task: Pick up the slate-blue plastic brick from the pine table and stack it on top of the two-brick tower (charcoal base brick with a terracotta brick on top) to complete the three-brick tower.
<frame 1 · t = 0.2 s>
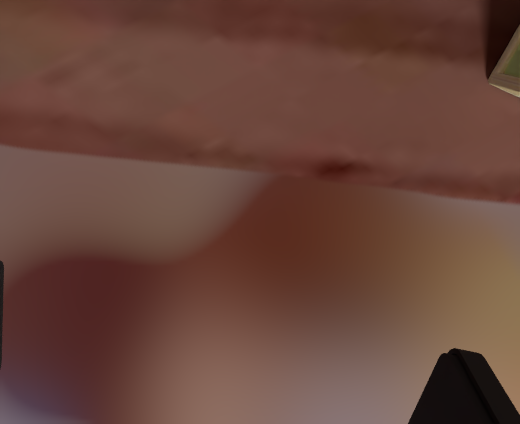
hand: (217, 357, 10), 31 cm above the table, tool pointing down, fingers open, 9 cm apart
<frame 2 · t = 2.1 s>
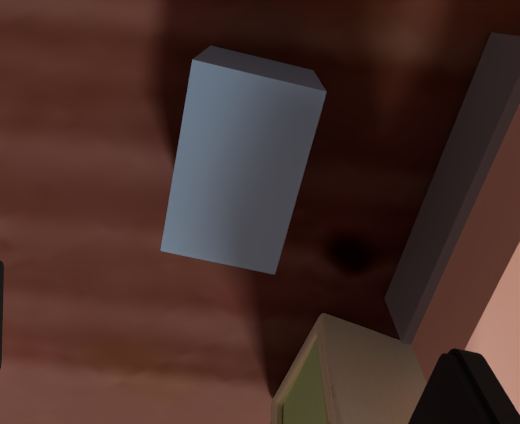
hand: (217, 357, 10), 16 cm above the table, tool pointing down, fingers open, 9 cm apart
slate brick: (244, 137, 24), on the table
toy refrigerator: (335, 368, 30), on the table
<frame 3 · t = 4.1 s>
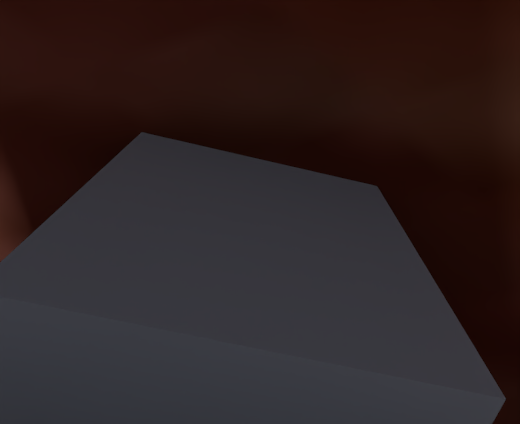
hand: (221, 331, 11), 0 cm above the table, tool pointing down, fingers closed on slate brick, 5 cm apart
slate brick: (223, 316, 11), on the table, touching gripper
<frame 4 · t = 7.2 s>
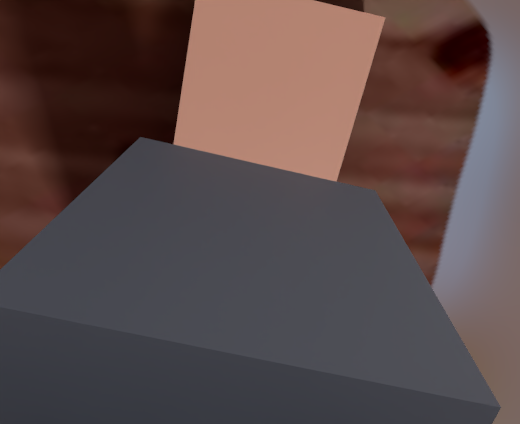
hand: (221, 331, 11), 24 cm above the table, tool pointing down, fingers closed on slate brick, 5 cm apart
slate brick: (222, 320, 11), point 23 cm above the table, touching gripper
brick tower: (261, 115, 33), on the table
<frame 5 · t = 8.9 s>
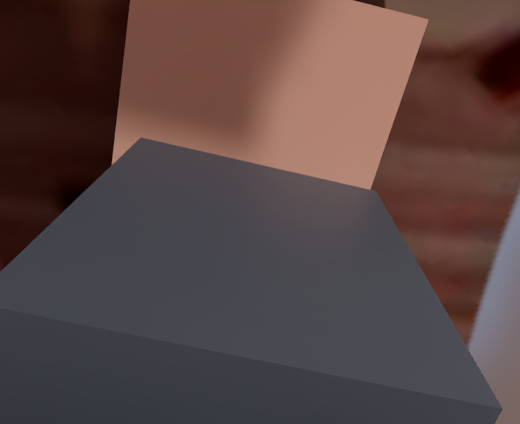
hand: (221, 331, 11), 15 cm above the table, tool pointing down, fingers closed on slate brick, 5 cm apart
slate brick: (222, 320, 11), point 14 cm above the table, touching gripper
brick tower: (244, 148, 25), on the table
when the fingers open (10 cm above the table, at t = 10.3 s): slate brick drops 1 cm, resting on brick tower.
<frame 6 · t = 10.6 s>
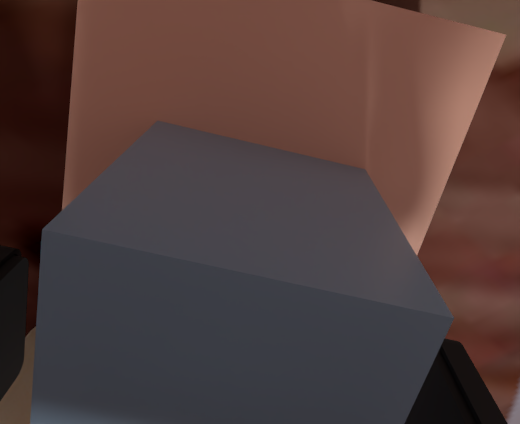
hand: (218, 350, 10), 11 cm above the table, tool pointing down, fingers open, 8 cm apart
slate brick: (228, 288, 13), point 8 cm above the table, touching brick tower
brick tower: (244, 186, 20), on the table
toy refrigerator: (74, 394, 25), on the table
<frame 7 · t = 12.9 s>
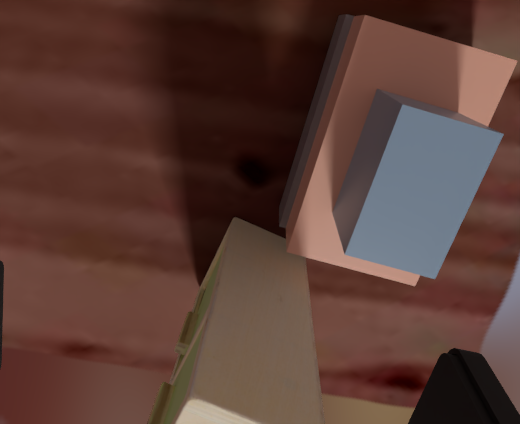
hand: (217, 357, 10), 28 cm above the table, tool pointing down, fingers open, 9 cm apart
slate brick: (392, 164, 29), point 8 cm above the table, touching brick tower
brick tower: (369, 136, 37), on the table
toy refrigerator: (246, 264, 41), on the table
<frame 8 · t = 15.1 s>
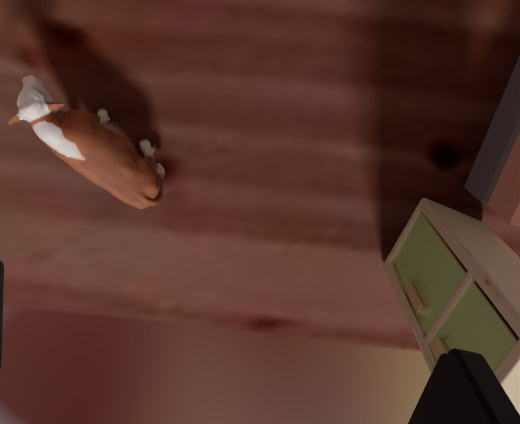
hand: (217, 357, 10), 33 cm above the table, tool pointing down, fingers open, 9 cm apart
bull figurine: (112, 132, 43), on the table
toy refrigerator: (427, 239, 46), on the table
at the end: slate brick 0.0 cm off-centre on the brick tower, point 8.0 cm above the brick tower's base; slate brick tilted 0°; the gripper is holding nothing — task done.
